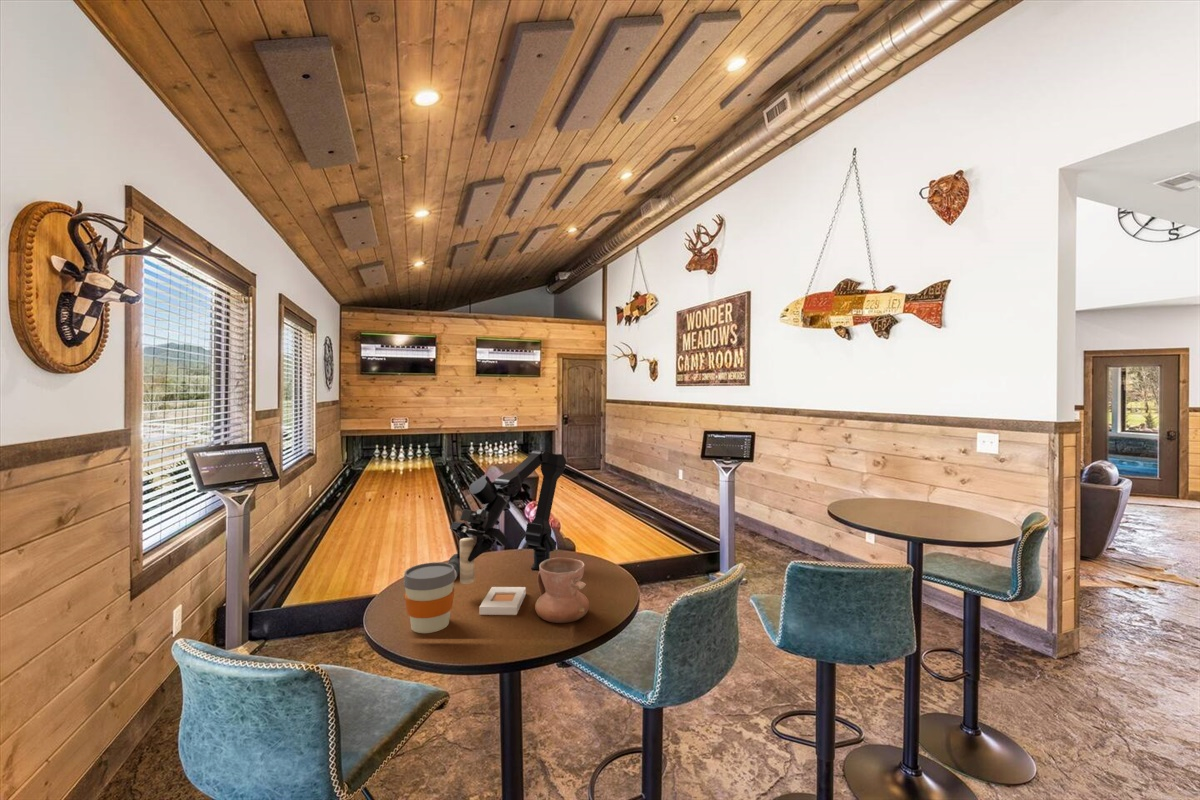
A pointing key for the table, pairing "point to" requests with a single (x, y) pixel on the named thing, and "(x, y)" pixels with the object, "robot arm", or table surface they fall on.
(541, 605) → the ceramic jug
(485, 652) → the table surface
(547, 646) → the table surface
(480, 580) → the table surface
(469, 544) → the cream ridged cylinder
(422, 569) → the reusable coffee cup
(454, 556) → the grey shaker
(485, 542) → the robot arm
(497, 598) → the breaker button
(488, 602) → the frame
